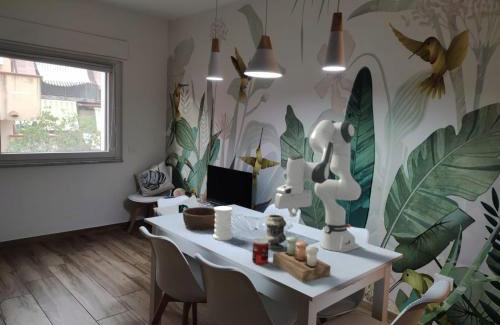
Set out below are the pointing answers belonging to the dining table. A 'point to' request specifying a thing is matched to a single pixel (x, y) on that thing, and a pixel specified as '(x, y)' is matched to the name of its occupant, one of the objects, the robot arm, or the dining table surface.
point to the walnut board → (301, 267)
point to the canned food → (260, 251)
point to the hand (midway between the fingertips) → (292, 216)
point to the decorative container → (222, 223)
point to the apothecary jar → (275, 231)
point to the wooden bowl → (199, 218)
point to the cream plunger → (311, 255)
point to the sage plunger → (291, 245)
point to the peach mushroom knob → (301, 250)
